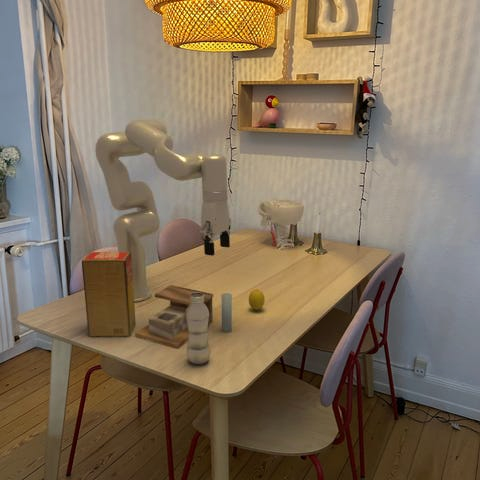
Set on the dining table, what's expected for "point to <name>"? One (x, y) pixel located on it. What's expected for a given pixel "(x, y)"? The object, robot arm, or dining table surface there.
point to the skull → (280, 218)
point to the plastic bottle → (197, 329)
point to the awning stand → (173, 317)
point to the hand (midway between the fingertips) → (217, 250)
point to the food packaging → (109, 293)
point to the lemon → (256, 299)
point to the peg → (226, 312)
